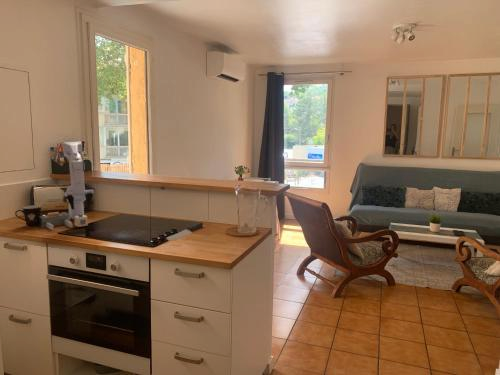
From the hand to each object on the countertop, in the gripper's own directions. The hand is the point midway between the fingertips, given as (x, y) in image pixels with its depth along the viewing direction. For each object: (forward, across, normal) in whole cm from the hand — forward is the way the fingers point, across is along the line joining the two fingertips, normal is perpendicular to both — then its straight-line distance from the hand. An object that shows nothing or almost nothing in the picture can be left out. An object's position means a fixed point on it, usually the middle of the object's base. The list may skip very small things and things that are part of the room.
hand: (80, 208), depth 203 cm
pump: (+9, 0, 0) cm, 9 cm away
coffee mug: (+10, -20, +18) cm, 29 cm away
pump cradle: (+9, -10, +4) cm, 14 cm away
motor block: (+9, -10, +11) cm, 18 cm away
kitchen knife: (+10, +33, -51) cm, 62 cm away
